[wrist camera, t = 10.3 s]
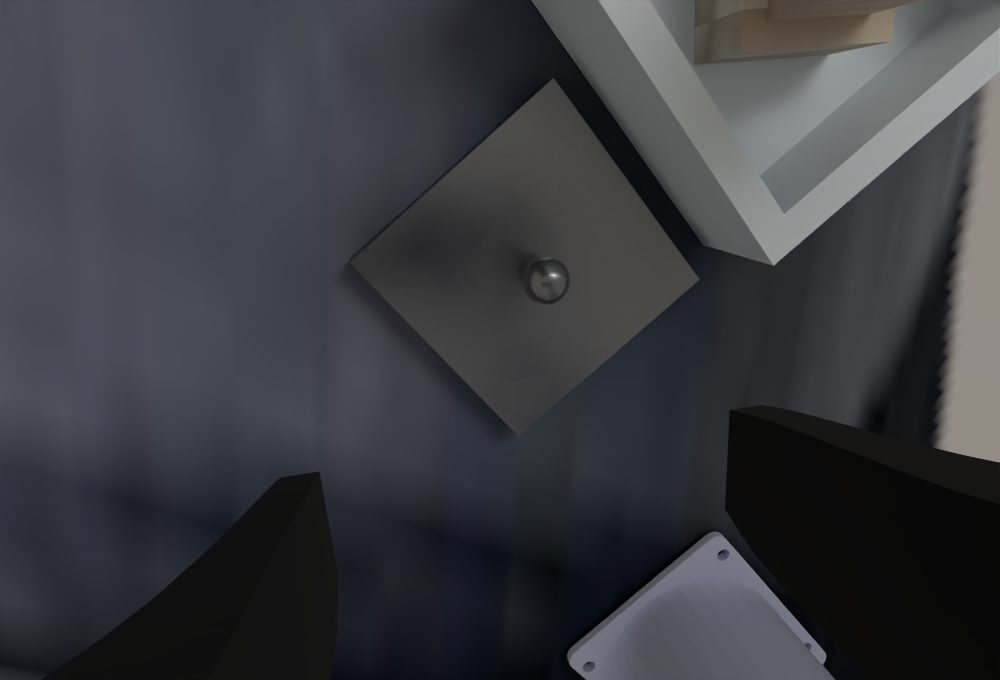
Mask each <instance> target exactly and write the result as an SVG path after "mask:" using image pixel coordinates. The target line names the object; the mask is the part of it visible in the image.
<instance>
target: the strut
mask: <svg viewBox="0 0 1000 680" xmlns="http://www.w3.org/2000/svg"><path fill="white" fill-rule="evenodd" d="M917 1H921V0H695V33H694V65H704V64H717V63H730V62H743V61H756V60H769V59H782V58H795V57H807V56H820V55H830V54H835V53H840V52H844V51H849V50H854V49H858V48H863V47H868V46H873V45H877V44H882V43H887V42H892V36H893V26H894V16H895V7H899V6H902V5H906V4H910V3H913V2H917Z"/></svg>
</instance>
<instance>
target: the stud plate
mask: <svg viewBox="0 0 1000 680" xmlns="http://www.w3.org/2000/svg"><path fill="white" fill-rule="evenodd" d="M349 263H350V264H351V265H352V266H353V267H354V268H355V269H356V270H357V271H358V272H359V273H360V274H361V275H362V276H363V277H364V278H365V279H366V280H367V282H368V283H369V284H370V285H371V286H372V287H373V288H374V289H375V290H376V291H377V292H378V293H379V294H380V295H381V296H382V297H383V298H384V299H385V300H386V301H387V302H388V303H389V304H390V305H391V306H392V307H393V308H394V309H395V310H396V311H397V312H398V313H399V314H400V315H401V316H402V317H403V318H404V319H405V320H406V322H407V323H408V324H409V325H410V326H411V327H412V328H413V329H414V330H415V331H416V332H417V333H418V334H419V335H420V336H421V337H422V338H423V339H424V340H425V341H426V342H427V343H428V344H429V345H430V346H431V347H432V348H433V349H434V350H435V351H436V352H437V353H438V354H439V355H440V356H441V357H442V358H443V359H444V360H445V361H446V363H447V364H448V365H449V366H450V367H451V368H452V369H453V370H454V371H455V372H456V373H457V374H458V375H459V376H460V377H461V378H462V379H463V380H464V381H465V382H466V383H467V384H468V385H469V386H470V387H471V388H472V389H473V390H474V391H475V392H476V393H477V394H478V395H479V396H480V397H481V398H482V399H483V400H484V401H485V403H486V404H487V405H488V406H489V407H490V408H491V409H492V410H493V411H494V412H495V413H496V414H497V415H498V416H499V417H500V418H501V419H502V420H503V421H504V422H505V423H506V424H507V425H508V426H509V427H510V428H511V429H512V430H513V431H514V432H515V433H516V434H517V435H518V436H520V435H521V434H522V433H523V432H524V431H525V430H527V429H528V428H529V427H530V426H531V425H532V424H534V423H535V422H536V421H537V420H538V419H539V418H540V417H542V416H543V415H544V414H545V413H546V412H547V411H549V410H550V409H551V408H552V407H553V406H554V405H555V404H557V403H558V402H559V401H560V400H561V399H562V398H564V397H565V396H566V395H567V394H568V393H569V392H570V391H572V390H573V389H574V388H575V387H576V386H577V385H579V384H580V383H581V382H582V381H583V380H584V379H585V378H587V377H588V376H589V375H590V374H591V373H592V372H594V371H595V370H596V369H597V368H598V367H599V366H600V365H602V364H603V363H604V362H605V361H606V360H607V359H609V358H610V357H611V356H612V355H613V354H614V353H615V352H617V351H618V350H619V349H620V348H621V347H622V346H624V345H625V344H626V343H627V342H628V341H629V340H631V339H632V338H633V337H634V336H635V335H636V334H637V333H639V332H640V331H641V330H642V329H643V328H644V327H646V326H647V325H648V324H649V323H650V322H651V321H652V320H654V319H655V318H656V317H657V316H658V315H659V314H661V313H662V312H663V311H664V310H665V309H666V308H667V307H669V306H670V305H671V304H672V303H673V302H674V301H676V300H677V299H678V298H679V297H680V296H681V295H682V294H684V293H685V292H686V291H687V290H688V289H689V288H691V287H692V286H693V285H694V284H695V283H696V282H697V281H699V278H698V277H697V275H696V274H695V273H694V271H693V270H692V269H691V267H690V266H689V264H688V263H687V262H686V260H685V259H684V257H683V256H682V255H681V253H680V252H679V251H678V249H677V248H676V246H675V245H674V244H673V242H672V241H671V239H670V238H669V237H668V235H667V234H666V233H665V231H664V230H663V228H662V227H661V226H660V224H659V223H658V221H657V220H656V219H655V217H654V216H653V215H652V213H651V212H650V210H649V209H648V208H647V206H646V205H645V204H644V202H643V201H642V199H641V198H640V197H639V195H638V194H637V192H636V191H635V190H634V188H633V187H632V186H631V184H630V183H629V181H628V180H627V179H626V177H625V176H624V174H623V173H622V172H621V170H620V169H619V168H618V166H617V165H616V163H615V162H614V161H613V159H612V158H611V156H610V155H609V154H608V152H607V151H606V150H605V148H604V147H603V145H602V144H601V143H600V141H599V140H598V139H597V137H596V136H595V134H594V133H593V132H592V130H591V129H590V127H589V126H588V125H587V123H586V122H585V121H584V119H583V118H582V116H581V115H580V114H579V112H578V111H577V109H576V108H575V107H574V105H573V104H572V103H571V101H570V100H569V98H568V97H567V96H566V94H565V93H564V91H563V90H562V89H561V87H560V86H559V85H558V83H557V82H556V80H555V79H554V78H552V79H550V80H547V81H546V82H545V83H544V84H542V85H541V86H540V87H539V88H538V89H537V90H536V91H535V92H534V93H533V94H531V95H530V96H529V97H528V98H527V99H526V100H525V101H524V102H523V103H521V104H520V105H519V106H518V107H517V108H516V109H515V110H514V111H513V112H512V113H510V114H509V115H508V116H507V117H506V118H505V119H504V120H503V121H502V122H500V123H499V124H498V125H497V126H496V127H495V128H494V129H493V130H492V131H491V132H489V133H488V134H487V135H486V136H485V137H484V138H483V139H482V140H481V141H480V142H478V143H477V144H476V145H475V146H474V147H473V148H472V149H471V150H470V151H468V152H467V153H466V154H465V155H464V156H463V157H462V158H461V159H460V160H459V161H457V162H456V163H455V164H454V165H453V166H452V167H451V168H450V169H449V170H447V171H446V172H445V173H444V174H443V175H442V176H441V177H440V178H439V179H438V180H436V181H435V182H434V183H433V184H432V185H431V186H430V187H429V188H428V189H426V190H425V191H424V192H423V193H422V194H421V195H420V196H419V197H418V198H417V199H415V200H414V201H413V202H412V203H411V204H410V205H409V206H408V207H407V208H406V209H404V210H403V211H402V212H401V213H400V214H399V215H398V216H397V217H396V218H394V219H393V220H392V221H391V222H390V223H389V224H388V225H387V226H386V227H385V228H383V229H382V230H381V231H380V232H379V233H378V234H377V235H376V236H375V237H373V238H372V239H371V240H370V241H369V242H368V243H367V244H366V245H365V246H364V247H362V248H361V249H360V250H359V251H358V252H357V253H356V254H355V255H354V256H352V257H351V258H350V262H349Z"/></svg>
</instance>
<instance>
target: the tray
mask: <svg viewBox="0 0 1000 680" xmlns="http://www.w3.org/2000/svg"><path fill="white" fill-rule="evenodd" d="M531 1H532V2H533V4H534V5H535V6H536V8H537V9H538V11H539V12H540V13H541V15H542V16H543V18H544V19H545V21H546V22H547V23H548V25H549V26H550V28H551V29H552V31H553V32H554V33H555V35H556V36H557V38H558V39H559V41H560V42H561V43H562V45H563V46H564V48H565V49H566V51H567V52H568V53H569V55H570V56H571V58H572V59H573V61H574V62H575V63H576V65H577V66H578V68H579V69H580V70H581V72H582V73H583V75H584V76H585V78H586V79H587V80H588V82H589V83H590V85H591V86H592V88H593V89H594V90H595V92H596V93H597V95H598V96H599V98H600V99H601V100H602V102H603V103H604V105H605V106H606V108H607V109H608V110H609V112H610V113H611V115H612V116H613V117H614V119H615V120H616V122H617V123H618V125H619V126H620V127H621V129H622V130H623V132H624V133H625V135H626V136H627V137H628V139H629V140H630V142H631V143H632V145H633V146H634V147H635V149H636V150H637V152H638V153H639V155H640V156H641V157H642V159H643V160H644V162H645V163H646V164H647V166H648V167H649V169H650V170H651V172H652V173H653V174H654V176H655V177H656V179H657V180H658V182H659V183H660V184H661V186H662V187H663V189H664V190H665V192H666V193H667V194H668V196H669V197H670V199H671V200H672V202H673V203H674V204H675V206H676V207H677V209H678V210H679V212H680V213H681V214H682V216H683V217H684V219H685V220H686V221H687V223H688V224H689V226H690V227H691V229H692V230H693V231H694V233H695V234H696V236H697V237H698V239H699V240H700V241H701V243H702V244H703V245H705V246H709V247H712V248H715V249H719V250H722V251H726V252H729V253H732V254H736V255H739V256H743V257H746V258H749V259H753V260H756V261H760V262H763V263H767V264H770V265H773V266H774V265H775V264H776V263H777V262H778V261H779V260H781V259H782V258H783V257H784V256H785V255H786V254H788V253H789V252H790V251H791V250H792V249H793V248H794V247H796V246H797V245H798V244H799V243H800V242H801V241H803V240H804V239H805V238H806V237H807V236H808V235H810V234H811V233H812V232H813V231H814V230H815V229H817V228H818V227H819V226H820V225H821V224H822V223H824V222H825V221H826V220H827V219H828V218H829V217H831V216H832V215H833V214H834V213H835V212H836V211H838V210H839V209H840V208H841V207H842V206H843V205H844V204H846V203H847V202H848V201H849V200H850V199H851V198H853V197H854V196H855V195H856V194H857V193H858V192H860V191H861V190H862V189H863V188H864V187H865V186H867V185H868V184H869V183H870V182H871V181H872V180H874V179H875V178H876V177H877V176H878V175H879V174H881V173H882V172H883V171H884V170H885V169H886V168H887V167H889V166H890V165H891V164H892V163H893V162H894V161H896V160H897V159H898V158H899V157H900V156H901V155H903V154H904V153H905V152H906V151H907V150H908V149H910V148H911V147H912V146H913V145H914V144H915V143H917V142H918V141H919V140H920V139H921V138H922V137H924V136H925V135H926V134H927V133H928V132H929V131H931V130H932V129H933V128H934V127H935V126H936V125H937V124H939V123H940V122H941V121H942V120H943V119H944V118H946V117H947V116H948V115H949V114H950V113H951V112H953V111H954V110H955V109H956V108H957V107H958V106H960V105H961V104H962V103H963V102H964V101H965V100H967V99H968V98H969V97H970V96H971V95H972V94H974V93H975V92H976V91H977V90H978V89H979V88H980V87H982V86H983V85H984V84H985V83H986V82H987V81H989V80H990V79H991V78H992V77H993V76H994V75H996V74H997V73H998V72H999V71H1000V0H921V1H917V2H913V3H910V4H906V5H902V6H899V7H895V16H894V26H893V36H892V42H887V43H882V44H877V45H873V46H868V47H863V48H858V49H854V50H849V51H844V52H840V53H835V54H830V55H820V56H807V57H795V58H782V59H769V60H756V61H743V62H730V63H717V64H704V65H694V33H695V0H531Z"/></svg>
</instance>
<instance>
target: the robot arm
mask: <svg viewBox="0 0 1000 680" xmlns="http://www.w3.org/2000/svg"><path fill="white" fill-rule="evenodd" d="M725 510H726V511H727V513H728V514H729V516H730V518H731V519H732V521H733V522H734V524H735V526H736V527H737V529H738V530H739V532H740V533H741V535H742V536H743V538H744V539H745V541H746V542H747V544H748V545H749V546H750V548H751V549H752V551H753V552H754V554H755V555H756V556H757V557H758V559H759V560H760V561H761V562H762V563H763V564H764V566H765V567H766V568H767V569H768V570H769V571H770V573H771V574H772V575H773V576H774V577H775V578H776V579H777V581H778V582H779V583H780V584H781V585H782V586H783V587H784V588H785V590H786V591H787V592H788V593H789V594H790V595H791V596H792V597H793V599H794V600H795V601H796V602H797V603H798V604H799V605H800V606H801V607H802V609H803V610H804V611H805V612H806V613H807V614H808V615H809V616H810V618H811V619H812V620H813V621H814V622H815V623H816V624H817V625H818V626H819V628H820V629H821V630H822V631H823V632H824V633H825V634H826V635H827V636H828V638H829V639H830V640H831V641H832V642H833V643H834V644H835V645H836V647H837V648H838V649H839V650H840V651H841V652H842V653H843V654H844V655H845V657H846V658H847V659H848V660H849V661H850V662H851V664H852V665H853V666H854V667H855V668H856V670H857V671H858V672H859V673H860V674H861V676H862V677H863V678H864V679H865V680H1000V463H999V462H994V461H989V460H984V459H979V458H975V457H970V456H965V455H961V454H956V453H952V452H948V451H944V450H940V449H936V448H932V447H927V446H923V445H919V444H915V443H911V442H907V441H903V440H900V439H896V438H892V437H888V436H885V435H881V434H877V433H873V432H870V431H866V430H862V429H859V428H855V427H852V426H848V425H844V424H841V423H837V422H833V421H830V420H826V419H822V418H819V417H815V416H811V415H807V414H803V413H799V412H795V411H791V410H786V409H782V408H776V407H770V406H763V405H760V406H753V407H747V408H740V409H733V410H730V416H729V437H728V458H727V480H726V501H725ZM721 550H723V552H722V553H721V554H719V555H717V554H718V553H719V552H720V551H721ZM337 615H338V573H337V568H336V562H335V556H334V551H333V545H332V540H331V534H330V528H329V523H328V517H327V512H326V506H325V501H324V495H323V489H322V484H321V478H320V473H319V472H314V473H307V474H301V475H294V476H287V477H281V478H280V479H278V480H277V481H276V482H275V483H274V484H273V485H272V486H271V487H270V488H269V489H268V490H267V491H266V492H265V493H264V494H263V495H262V496H261V497H260V498H259V499H258V500H257V501H256V502H255V503H254V504H253V505H252V506H251V507H250V508H249V509H248V511H247V512H246V513H245V514H244V515H243V516H242V517H241V518H240V519H239V520H238V521H237V522H236V523H235V524H234V525H233V526H232V527H231V528H230V529H229V530H228V531H227V532H226V533H225V534H224V535H223V536H222V537H221V538H220V539H219V540H218V541H217V542H216V543H215V544H214V545H213V546H211V547H210V548H209V549H208V550H207V551H206V552H205V553H204V554H203V555H202V556H200V557H199V558H198V559H197V560H196V561H195V562H194V563H193V564H192V565H190V566H189V567H188V568H187V569H186V570H185V571H184V572H183V573H182V574H181V575H179V576H178V577H177V578H176V579H175V580H174V581H173V582H172V583H171V584H169V585H168V586H167V587H166V588H165V589H164V590H163V591H161V592H160V593H159V594H158V595H157V596H155V597H154V598H153V599H152V600H151V601H149V602H148V603H147V604H146V605H144V606H143V607H142V608H141V609H139V610H138V611H137V612H136V613H134V614H133V615H132V616H131V617H129V618H128V619H127V620H125V621H124V622H123V623H121V624H120V625H119V626H117V627H116V628H115V629H113V630H112V631H111V632H109V633H108V634H107V635H105V636H104V637H103V638H101V639H100V640H99V641H97V642H96V643H94V644H93V645H92V646H90V647H89V648H88V649H86V650H85V651H83V652H82V653H80V654H79V655H77V656H76V657H74V658H73V659H71V660H70V661H68V662H67V663H65V664H64V665H62V666H61V667H59V668H58V669H56V670H55V671H53V672H52V673H50V674H49V675H47V676H46V677H44V678H43V679H41V680H330V678H331V671H332V665H333V658H334V651H335V644H336V637H337ZM567 659H568V661H569V664H570V666H571V667H572V668H573V669H574V670H575V671H577V672H578V673H579V674H580V675H581V676H582V677H584V678H585V679H586V680H835V679H834V678H833V677H832V676H831V675H830V673H829V672H828V671H827V670H826V669H825V668H824V667H823V665H822V664H823V663H824V662H825V660H826V654H825V652H824V651H823V649H822V648H821V647H820V646H819V645H818V644H817V643H816V641H815V640H814V639H813V638H812V637H811V636H810V635H809V633H808V632H807V631H806V630H805V629H804V628H803V627H802V625H801V624H800V623H799V622H798V621H797V620H796V619H795V617H794V616H793V615H792V614H791V613H790V612H789V611H788V609H787V608H786V607H785V606H784V605H783V604H782V603H781V601H780V600H779V599H778V598H777V597H776V596H775V595H774V593H773V592H772V591H771V590H770V589H769V588H768V587H767V585H766V584H765V583H764V582H763V581H762V580H761V579H760V577H759V576H758V575H757V574H756V573H755V572H754V571H753V569H752V568H751V567H750V566H749V565H748V564H747V563H746V561H745V560H744V559H743V558H742V557H741V556H740V555H739V553H738V552H737V551H736V550H735V549H734V548H733V547H732V545H731V544H730V543H729V542H728V541H727V540H726V539H725V537H724V536H723V535H722V534H720V533H719V532H711V533H708V534H707V535H705V536H704V537H703V538H702V539H701V540H699V541H698V542H697V543H696V544H695V545H693V546H692V547H691V548H690V549H689V550H687V551H686V552H685V553H684V554H683V555H681V556H680V557H679V558H678V559H677V560H675V561H674V562H673V563H672V564H671V565H669V566H668V567H667V568H666V569H665V570H663V571H662V572H661V573H660V574H659V575H657V576H656V577H655V578H654V579H653V580H651V581H650V582H649V583H648V584H647V585H645V586H644V587H643V588H642V589H641V590H639V591H638V592H637V593H636V594H635V595H633V596H632V597H631V598H630V599H629V600H628V601H626V602H625V603H624V604H623V605H622V606H620V607H619V608H618V609H617V610H616V611H614V612H613V613H612V614H611V615H610V616H608V617H607V618H606V619H605V620H604V621H602V622H601V623H600V624H599V625H598V626H596V627H595V628H594V629H593V630H592V631H590V632H589V633H588V634H587V635H586V636H584V637H583V638H582V639H581V640H580V641H578V642H577V643H576V644H575V645H574V646H572V647H571V648H570V650H569V651H568V654H567ZM587 662H590V663H588V664H585V663H587Z"/></svg>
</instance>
